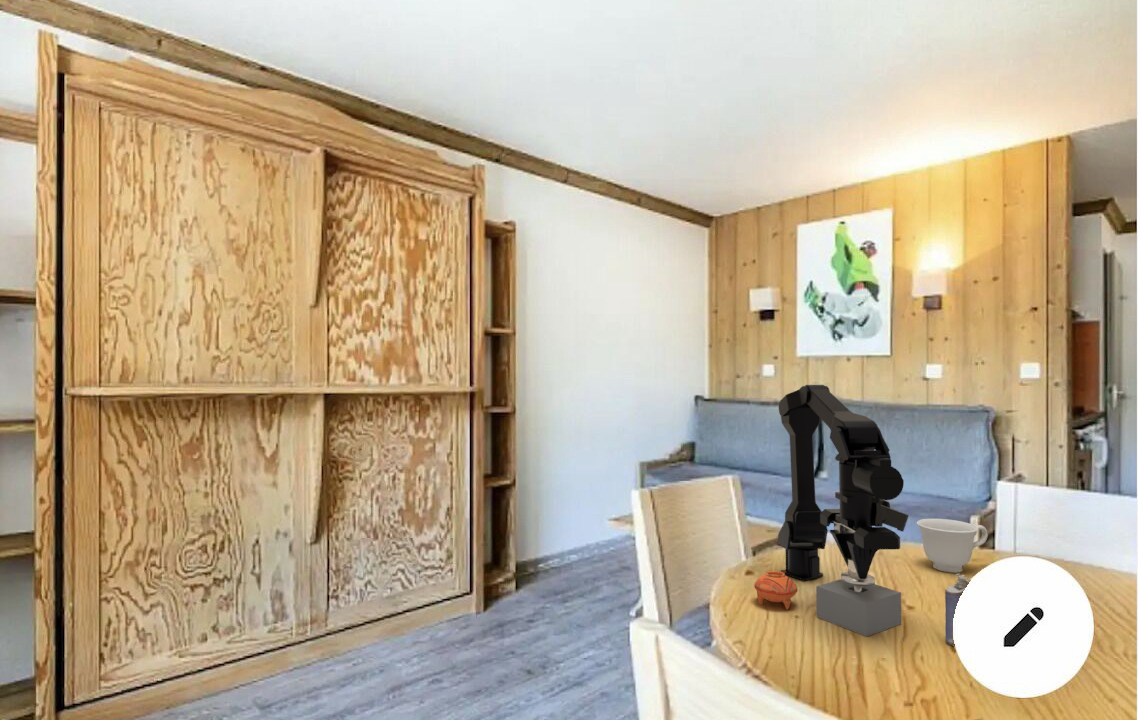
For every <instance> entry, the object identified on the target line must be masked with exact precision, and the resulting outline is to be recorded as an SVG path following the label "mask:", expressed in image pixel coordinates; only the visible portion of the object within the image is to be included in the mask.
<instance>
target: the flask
mask: <svg viewBox="0 0 1138 720" xmlns="http://www.w3.org/2000/svg"><path fill="white" fill-rule="evenodd" d="M956 577H957V580H956V583H954V584H952V585H949V586H948V587H946V589H945V591H944V595H945V596H944V598H945V613H944V614H945V626H944V627H945V644H946V645H947V646H952V647H954V648H956V647H955V644H954V640H953V618H954V614H955V609H956V606H957V603H958V601H959V598H960V596H961V595H962V593H963V591H964V590H965V588H966V587H967V585H968V584H969V582H970V581H971V579H969V577H967V576H966V575H964V574H961V573H955V575H954V578H956Z"/></svg>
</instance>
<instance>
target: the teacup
mask: <svg viewBox="0 0 1138 720" xmlns="http://www.w3.org/2000/svg"><path fill="white" fill-rule="evenodd" d="M916 524H917V525H918V526H919V529H920V533H921V539H922V540H921V541H922V547H923V551H924V554H925V556H926V557H927V559H929V560H930V561H931V562H932V563H933V564H932V567H933V568H934V569H935V570H937V571H941V572H945V573H955V574H958V573H961V572H963V566H966V565H967V564H968V563H970V562H971V558H972V555H973V550H974V549H975V548H977V547H980V546H982V545H984V544H985V542H986V541H987V539H988V530H987V528H986V527H985V526H984V525H981V524H972V523H969V522H966V521H960V520H956V519H955V520H954V519H945V518H923V519H918V520H917V521H916ZM978 531H981V536H980V538H979V539H977V540H976V541H975V536H977V533H978Z"/></svg>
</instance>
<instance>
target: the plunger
mask: <svg viewBox="0 0 1138 720" xmlns="http://www.w3.org/2000/svg"><path fill="white" fill-rule="evenodd" d="M840 579H841V580H842V581H843V582H845V583H847V584H850V585H854V591H856V592H859V593H861V592H862V586H873V585H874V584H876V578H875V576H873V575H871V574H869V573H868V574H867V577H866V579H860V578H859V577H858V574H857V571H856V568H855V565H854V562H853V559H852V557H851V558H848V567H847V571H845V572H842V573H841V574H840Z"/></svg>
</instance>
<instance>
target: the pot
mask: <svg viewBox="0 0 1138 720" xmlns="http://www.w3.org/2000/svg"><path fill="white" fill-rule="evenodd" d="M753 586H754V587H753V588H754V589H755V590H756V594H757V601H758V603H759V604H760V605H762V604H763V602H764V599H765V600H767V601H769V602H772V603H783V605H784V607H785V610H789V608H790V607H791V599H792V598H793V597H794V596H795V595H796V593H797V592H798V586H797V584H796V583H795V581H794V580H792V578H790V577H789V576H788V575H786V574H785V573H783V572H781V570H780V571H779V570H768V571H765V574H762V575H761V576H759V577H758V578H757V579H756V581H754V584H753Z"/></svg>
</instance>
